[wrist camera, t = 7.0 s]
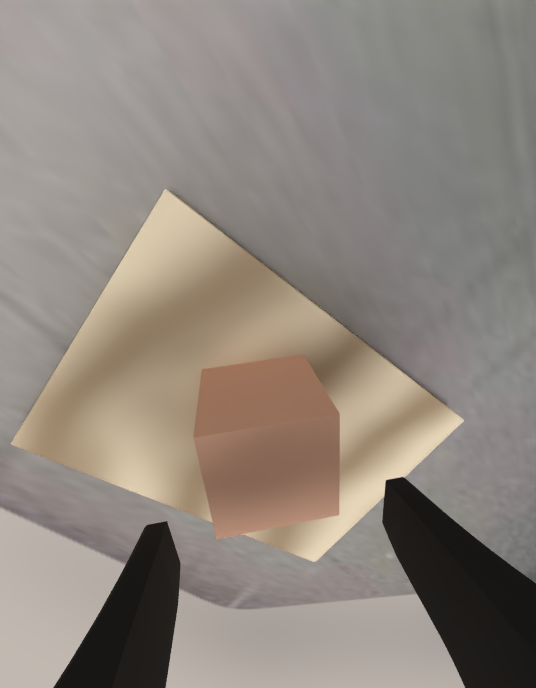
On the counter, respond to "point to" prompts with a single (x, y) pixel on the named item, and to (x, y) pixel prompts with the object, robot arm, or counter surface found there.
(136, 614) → the robot arm
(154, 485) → the birch board
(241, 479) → the terracotta cube
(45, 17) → the counter surface
